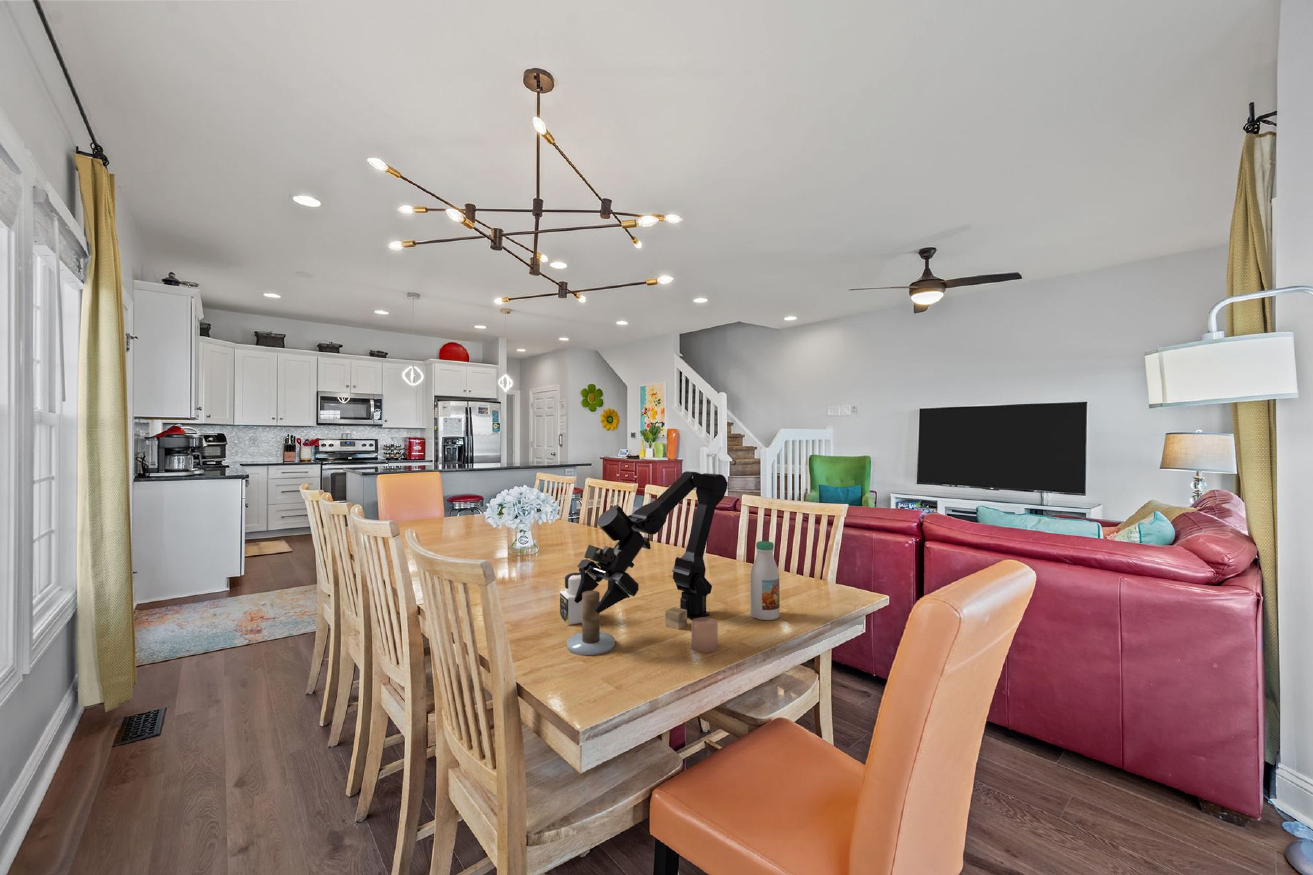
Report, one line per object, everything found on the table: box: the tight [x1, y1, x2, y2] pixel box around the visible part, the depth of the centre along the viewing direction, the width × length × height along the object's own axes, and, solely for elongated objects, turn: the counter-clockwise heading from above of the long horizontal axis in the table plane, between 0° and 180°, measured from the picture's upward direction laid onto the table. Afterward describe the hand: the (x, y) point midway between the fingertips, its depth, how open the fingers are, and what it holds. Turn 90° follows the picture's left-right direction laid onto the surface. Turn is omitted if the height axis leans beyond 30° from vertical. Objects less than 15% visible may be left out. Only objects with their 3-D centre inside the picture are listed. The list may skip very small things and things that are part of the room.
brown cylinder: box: [581, 590, 601, 644], centre depth 122 cm, size 4×4×11 cm
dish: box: [566, 631, 616, 656], centre depth 122 cm, size 11×11×1 cm
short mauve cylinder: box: [691, 616, 719, 654], centre depth 121 cm, size 6×6×6 cm
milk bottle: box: [749, 540, 781, 621], centre depth 142 cm, size 8×8×20 cm
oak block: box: [664, 606, 688, 630], centre depth 135 cm, size 4×4×4 cm
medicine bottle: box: [559, 572, 582, 626], centre depth 140 cm, size 7×7×12 cm
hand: (585, 606), depth 122 cm, fingers open, 9 cm apart
